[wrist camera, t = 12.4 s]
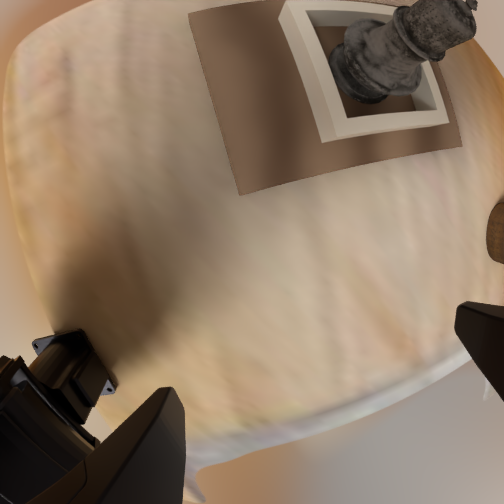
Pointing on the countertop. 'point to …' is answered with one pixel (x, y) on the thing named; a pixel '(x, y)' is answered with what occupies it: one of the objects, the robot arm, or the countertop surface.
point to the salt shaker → (398, 48)
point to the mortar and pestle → (496, 234)
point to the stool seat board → (307, 93)
